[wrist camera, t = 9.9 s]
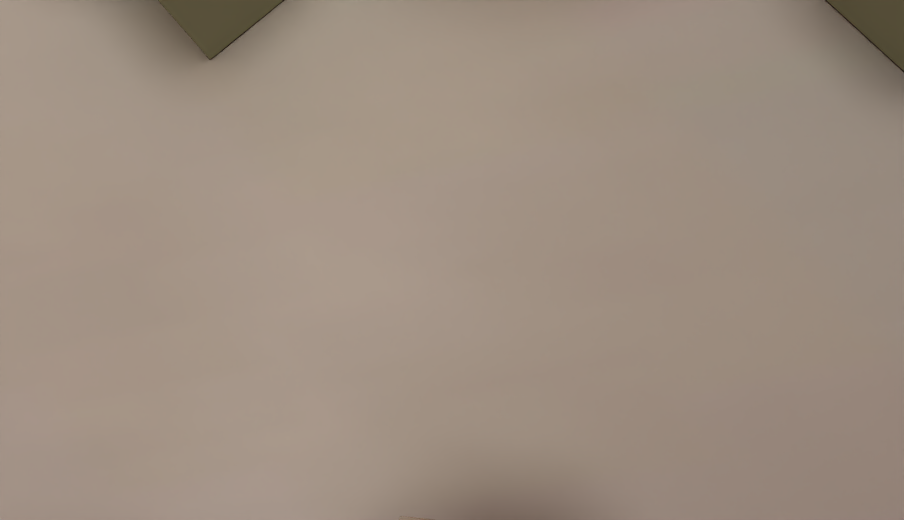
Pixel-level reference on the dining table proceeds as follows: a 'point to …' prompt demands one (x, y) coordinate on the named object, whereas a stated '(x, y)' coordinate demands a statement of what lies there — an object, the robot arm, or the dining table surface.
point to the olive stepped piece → (244, 3)
